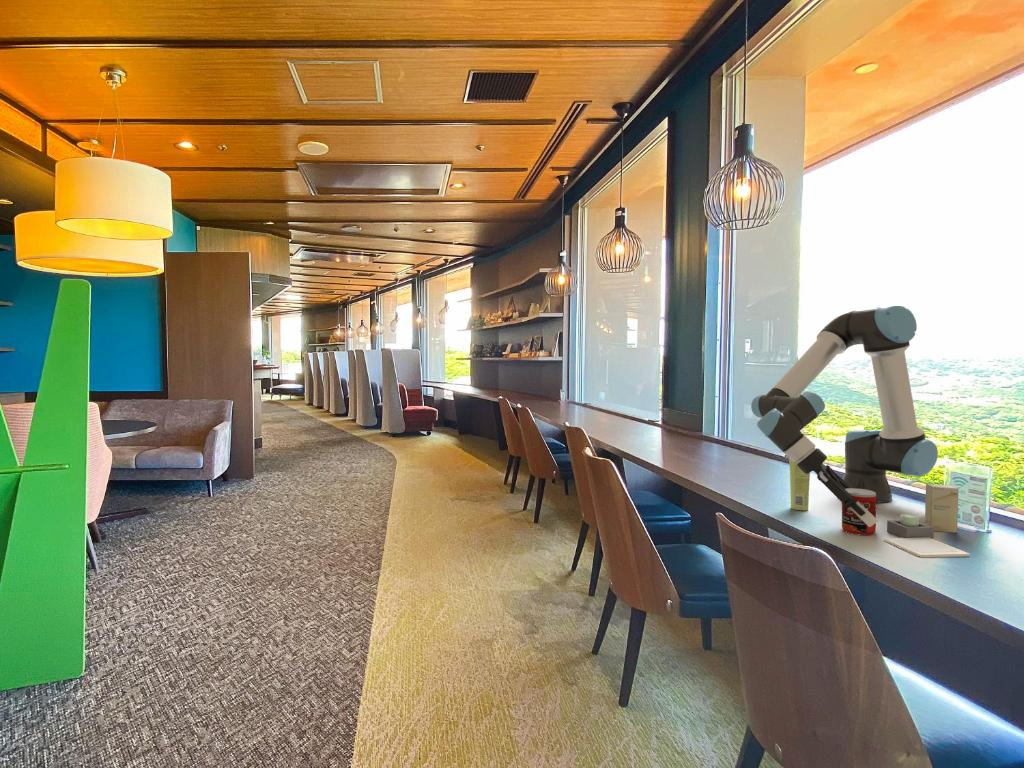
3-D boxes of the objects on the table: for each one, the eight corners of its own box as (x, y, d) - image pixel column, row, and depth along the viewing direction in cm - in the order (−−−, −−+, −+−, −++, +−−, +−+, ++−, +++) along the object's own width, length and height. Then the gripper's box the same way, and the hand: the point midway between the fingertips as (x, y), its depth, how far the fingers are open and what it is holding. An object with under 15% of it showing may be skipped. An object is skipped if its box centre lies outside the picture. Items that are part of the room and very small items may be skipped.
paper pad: (928, 539, 138) (928, 537, 138) (969, 556, 126) (969, 553, 126) (883, 540, 138) (883, 538, 138) (920, 557, 126) (920, 554, 126)
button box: (912, 530, 146) (912, 519, 145) (932, 539, 139) (933, 527, 138) (886, 531, 145) (887, 520, 145) (906, 539, 138) (906, 528, 138)
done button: (911, 525, 144) (911, 514, 144) (922, 529, 140) (922, 518, 140) (896, 525, 144) (896, 514, 144) (907, 530, 140) (908, 518, 140)
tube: (795, 505, 173) (795, 445, 172) (812, 508, 169) (812, 447, 168) (787, 508, 169) (787, 447, 168) (804, 512, 165) (804, 449, 164)
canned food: (835, 529, 148) (835, 489, 147) (854, 525, 151) (854, 487, 150) (862, 537, 141) (863, 496, 140) (882, 533, 144) (882, 492, 143)
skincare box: (930, 530, 145) (930, 486, 145) (924, 526, 149) (924, 483, 149) (958, 533, 143) (959, 488, 143) (951, 528, 147) (952, 484, 147)
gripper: (799, 458, 162) (862, 518, 154) (791, 470, 145) (861, 538, 137) (819, 442, 159) (884, 503, 151) (813, 452, 142) (887, 521, 134)
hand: (873, 519), depth 144 cm, fingers closed on canned food, 8 cm apart
